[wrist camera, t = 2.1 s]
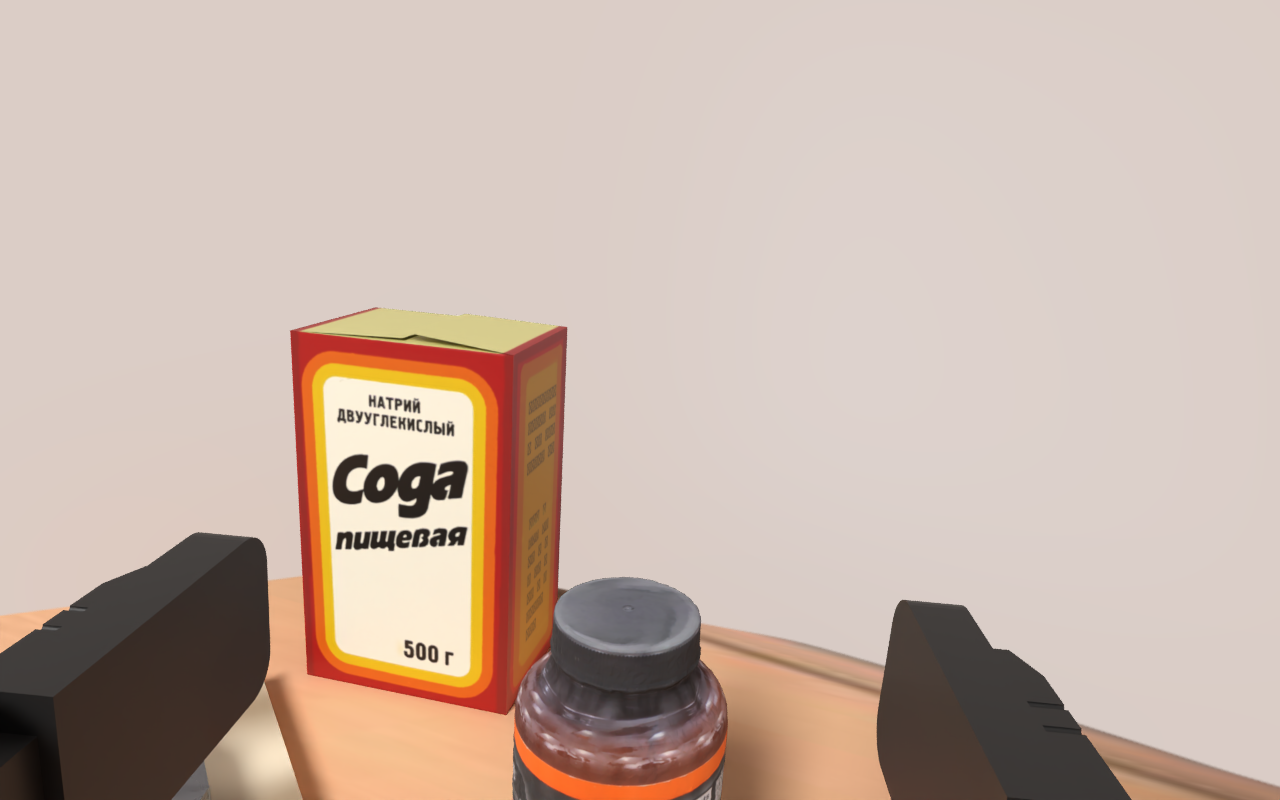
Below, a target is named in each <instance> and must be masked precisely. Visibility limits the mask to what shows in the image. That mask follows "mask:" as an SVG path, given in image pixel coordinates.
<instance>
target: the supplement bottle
mask: <svg viewBox="0 0 1280 800" xmlns="http://www.w3.org/2000/svg"><path fill="white" fill-rule="evenodd" d="M700 627H701V616H700V613H699V610H698V607H697V606H696V605H695V604H694V603H693V601H692V600H691V599H690V598H689V597H687V596H686V595H685V594H683V593H682V592H680V591H678V590H676V589H675V588H672V587H669V586H668V585H664V584H661V583H658V582H655V581H652V580H647V579H641V578H630V577H619V578H603V579H597V580H592V581H589V582H586V583H582V584H580V585H577V586H575V587H573V588H571V589H570V590H568V591H567V592H566V593H564V594H563V595H562V596H561V597H560V599H559V600H558V602H557V603H556V606H555V609H554V613H553V628H552V636H551V640H550V645H551V650H550V651H549V652H548V653H546V654H545V655H544V656H543V657H542V658H541V659H539V660H538V661H537V662H536V663H535V664H533V665H532V667H531V669H530V670H529V671H528V672H527V674H526V675H525V677H524V678H523V680H522V682H521V684H520V687H519V689H518V694H517V698H516V701H515V731H514V748H513V783H512V784H513V800H721V791H722V781H723V770H724V762H725V747H726V738H727V727H728V720H727V703H726V699H725V695H724V693H723V690H722V688H721V685H720V683H719V682H718V680H717V678H716V677H715V675H714V674H713V672H712V671H711V670H710V669H709V668H708V667H707V666H706V665H705V664H704V663H703V662H702V661H701V660H700V655H701V652H700V651H701V647H700Z"/></svg>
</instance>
